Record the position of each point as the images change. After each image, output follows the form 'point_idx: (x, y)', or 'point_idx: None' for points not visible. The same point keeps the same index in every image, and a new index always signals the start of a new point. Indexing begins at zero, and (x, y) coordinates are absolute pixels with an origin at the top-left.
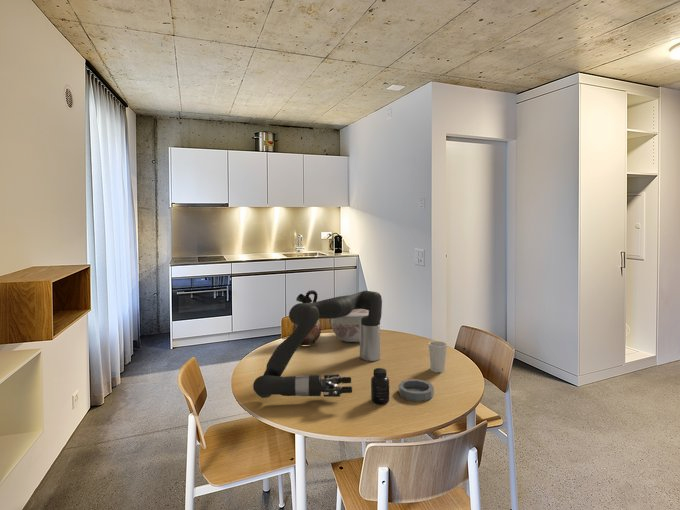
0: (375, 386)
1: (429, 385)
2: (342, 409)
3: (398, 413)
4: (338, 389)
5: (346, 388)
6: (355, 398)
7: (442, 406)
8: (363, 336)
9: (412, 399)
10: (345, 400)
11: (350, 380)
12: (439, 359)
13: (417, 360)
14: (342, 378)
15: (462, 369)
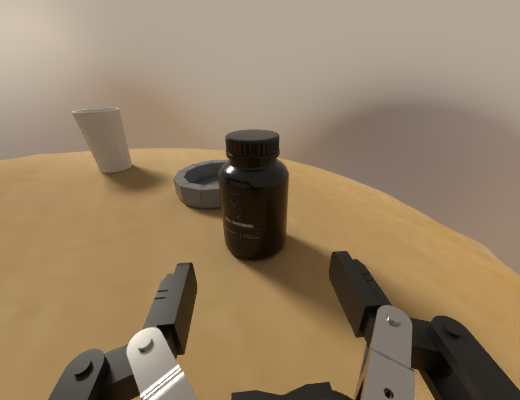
0: (285, 193)
1: (217, 162)
2: None
3: (324, 212)
4: (456, 326)
5: (362, 280)
6: (230, 319)
7: None
8: None
9: None
10: (252, 375)
11: (194, 276)
12: (123, 139)
13: (35, 182)
14: (177, 318)
15: (137, 153)
